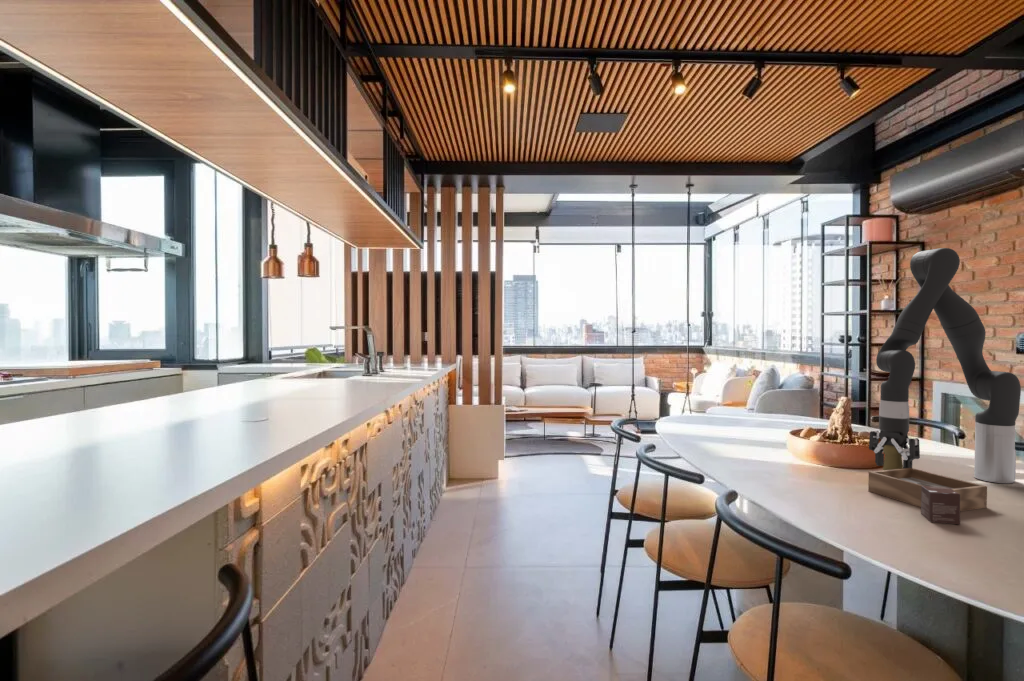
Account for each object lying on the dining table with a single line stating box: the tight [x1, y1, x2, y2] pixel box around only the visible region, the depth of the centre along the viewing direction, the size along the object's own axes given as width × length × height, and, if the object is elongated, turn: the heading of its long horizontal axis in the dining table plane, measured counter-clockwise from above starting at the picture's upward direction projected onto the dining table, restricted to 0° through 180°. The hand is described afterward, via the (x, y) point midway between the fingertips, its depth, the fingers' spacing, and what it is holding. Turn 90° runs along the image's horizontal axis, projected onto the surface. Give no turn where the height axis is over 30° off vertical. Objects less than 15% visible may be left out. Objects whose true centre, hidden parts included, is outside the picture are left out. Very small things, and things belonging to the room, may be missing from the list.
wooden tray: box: [867, 467, 988, 512], centre depth 149 cm, size 16×20×6 cm
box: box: [920, 486, 961, 525], centre depth 133 cm, size 6×6×7 cm
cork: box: [882, 445, 903, 470], centre depth 167 cm, size 6×6×11 cm
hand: (893, 468), depth 167 cm, fingers open, 8 cm apart
